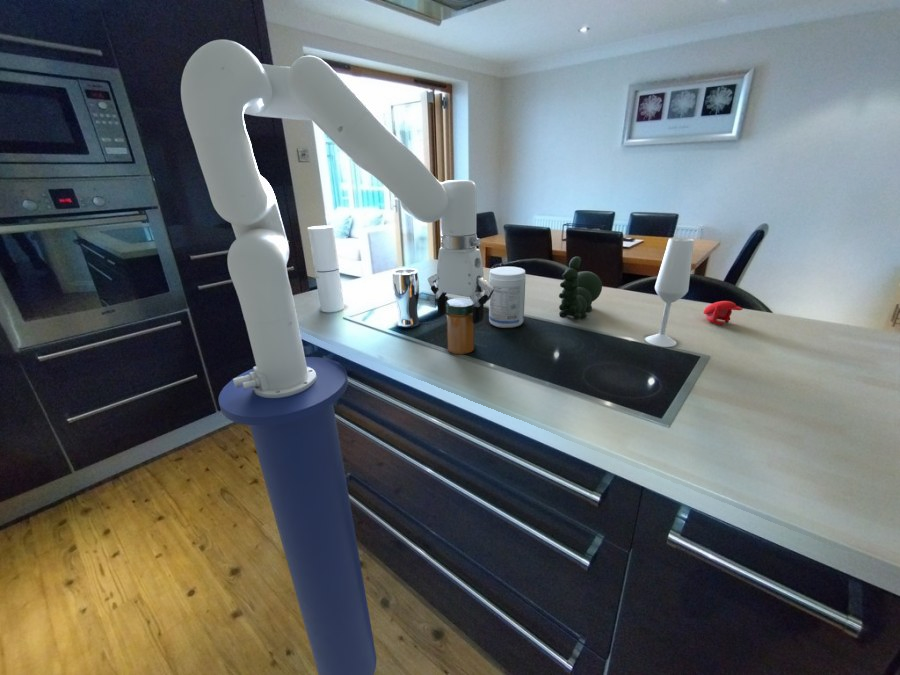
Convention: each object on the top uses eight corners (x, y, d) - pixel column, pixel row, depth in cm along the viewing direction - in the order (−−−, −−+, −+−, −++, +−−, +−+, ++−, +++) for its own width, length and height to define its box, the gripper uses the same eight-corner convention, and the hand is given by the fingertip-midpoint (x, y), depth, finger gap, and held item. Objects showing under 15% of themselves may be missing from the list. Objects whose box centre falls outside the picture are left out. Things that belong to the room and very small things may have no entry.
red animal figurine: (701, 324, 102) (706, 302, 100) (701, 317, 107) (706, 296, 105) (738, 329, 98) (744, 306, 96) (736, 321, 103) (742, 300, 101)
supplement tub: (499, 314, 113) (500, 264, 108) (529, 320, 108) (532, 268, 102) (482, 325, 106) (482, 272, 100) (513, 331, 101) (515, 276, 95)
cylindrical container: (335, 313, 119) (322, 229, 109) (316, 311, 121) (302, 228, 111) (348, 306, 125) (337, 225, 115) (330, 304, 127) (318, 225, 117)
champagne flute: (656, 348, 90) (677, 242, 80) (639, 336, 96) (657, 237, 86) (683, 345, 90) (707, 240, 81) (664, 334, 97) (684, 236, 87)
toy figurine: (582, 334, 102) (605, 300, 120) (589, 264, 93) (612, 239, 112) (547, 328, 107) (574, 296, 125) (551, 261, 98) (579, 237, 116)
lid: (439, 312, 88) (439, 304, 87) (455, 304, 93) (455, 296, 92) (464, 317, 84) (464, 308, 84) (479, 308, 90) (479, 300, 89)
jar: (459, 356, 88) (458, 312, 84) (441, 347, 93) (440, 305, 89) (479, 348, 92) (479, 306, 88) (462, 340, 97) (461, 300, 92)
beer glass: (400, 330, 104) (396, 275, 98) (393, 322, 110) (388, 270, 104) (424, 326, 107) (421, 272, 101) (416, 318, 112) (413, 267, 107)
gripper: (503, 243, 81) (500, 320, 87) (437, 237, 90) (440, 307, 97) (484, 248, 75) (483, 330, 82) (416, 241, 85) (420, 315, 91)
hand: (459, 317), depth 89 cm, fingers open, 9 cm apart
